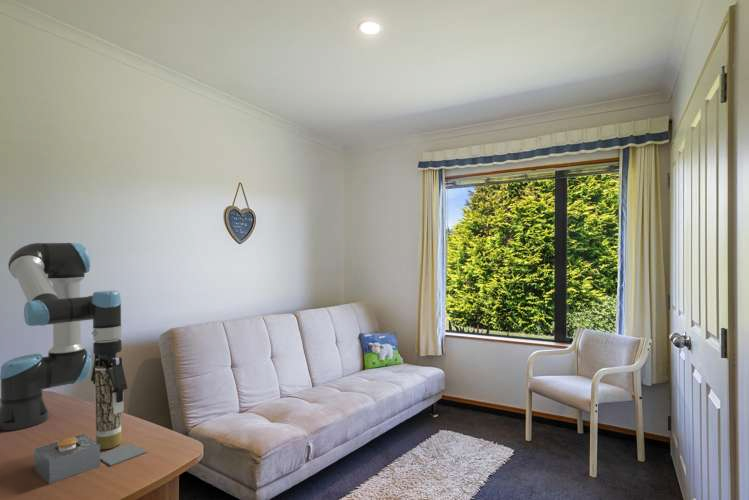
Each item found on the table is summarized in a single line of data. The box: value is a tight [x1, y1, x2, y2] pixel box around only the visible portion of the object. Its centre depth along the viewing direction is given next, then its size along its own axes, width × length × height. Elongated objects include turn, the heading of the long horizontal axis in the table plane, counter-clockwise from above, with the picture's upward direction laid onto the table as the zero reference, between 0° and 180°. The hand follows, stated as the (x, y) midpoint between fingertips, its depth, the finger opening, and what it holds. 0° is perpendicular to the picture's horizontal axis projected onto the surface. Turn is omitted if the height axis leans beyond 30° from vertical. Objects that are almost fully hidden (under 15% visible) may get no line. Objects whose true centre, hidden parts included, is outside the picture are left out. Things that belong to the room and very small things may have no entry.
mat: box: [100, 442, 148, 467], centre depth 129 cm, size 10×10×1 cm
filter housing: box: [33, 433, 101, 485], centre depth 121 cm, size 12×12×6 cm
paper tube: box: [94, 366, 122, 450], centre depth 135 cm, size 7×7×25 cm
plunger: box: [57, 436, 77, 452], centre depth 121 cm, size 5×5×7 cm
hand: (108, 408), depth 135 cm, fingers open, 13 cm apart
